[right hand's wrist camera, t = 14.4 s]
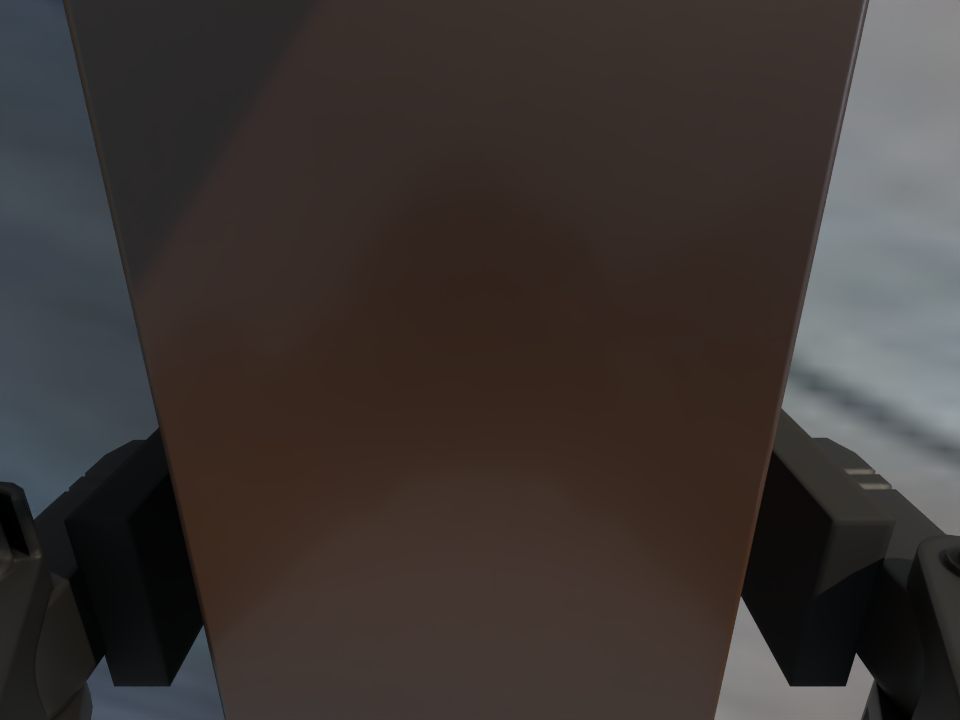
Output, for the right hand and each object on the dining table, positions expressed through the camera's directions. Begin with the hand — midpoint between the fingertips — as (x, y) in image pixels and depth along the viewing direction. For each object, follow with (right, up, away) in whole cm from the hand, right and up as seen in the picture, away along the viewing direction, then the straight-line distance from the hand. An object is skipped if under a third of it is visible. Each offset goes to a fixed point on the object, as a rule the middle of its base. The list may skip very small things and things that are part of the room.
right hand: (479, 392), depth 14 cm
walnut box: (0, +11, -2) cm, 12 cm away
